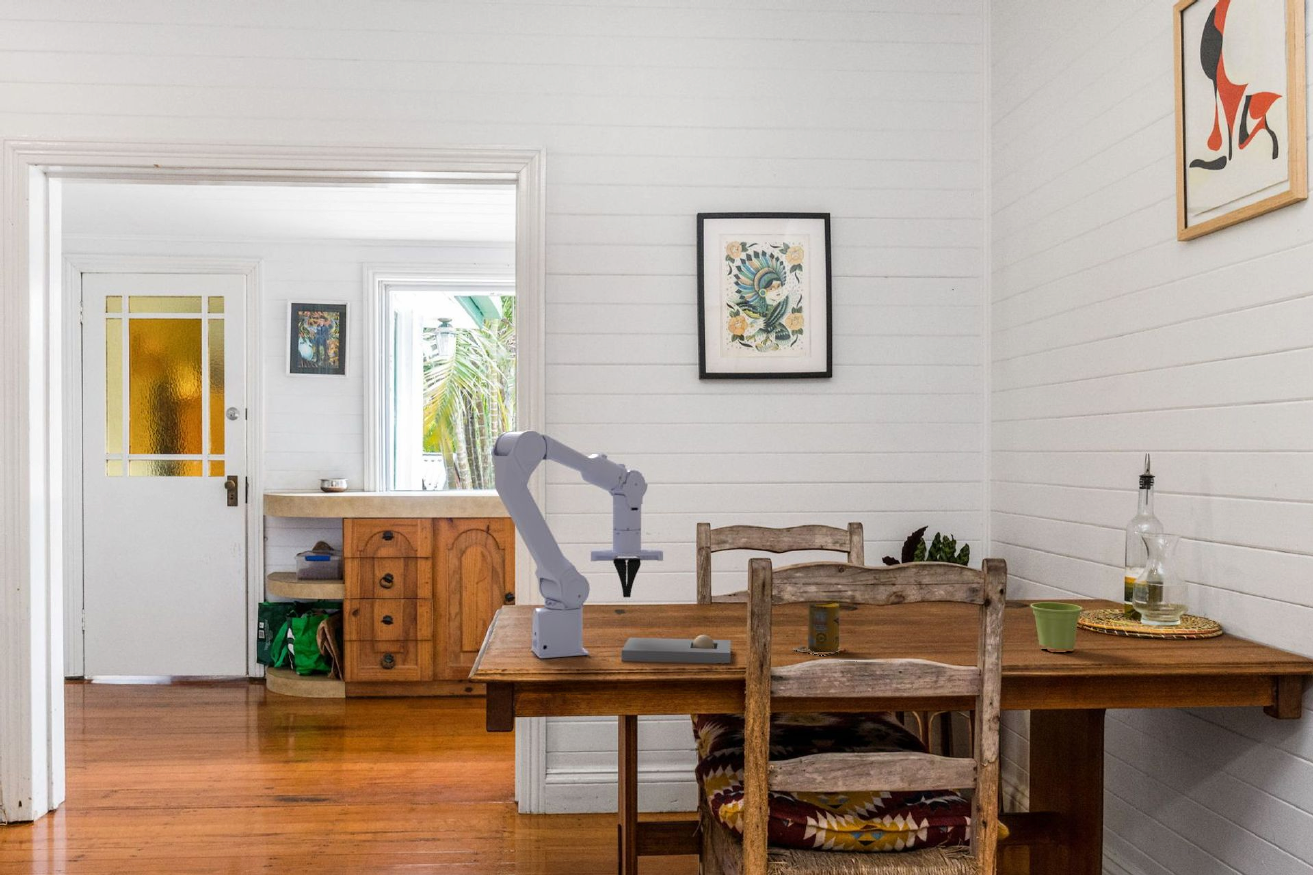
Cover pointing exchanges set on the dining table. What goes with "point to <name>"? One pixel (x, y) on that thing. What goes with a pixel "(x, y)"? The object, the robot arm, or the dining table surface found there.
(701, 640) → the ball
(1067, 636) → the plant pot
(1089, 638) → the dining table surface
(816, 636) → the condiment
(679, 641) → the board
